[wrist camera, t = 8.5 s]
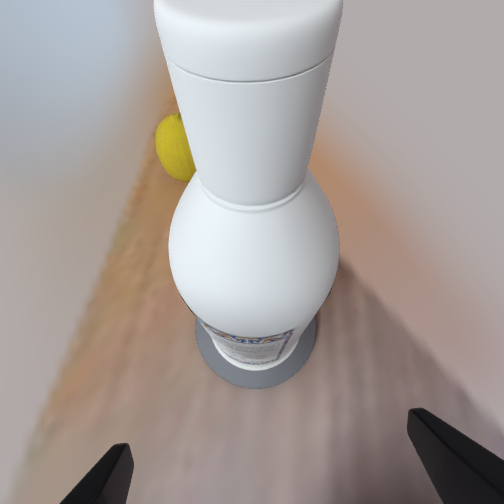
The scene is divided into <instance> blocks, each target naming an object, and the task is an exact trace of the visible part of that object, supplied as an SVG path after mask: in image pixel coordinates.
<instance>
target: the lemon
mask: <svg viewBox="0 0 504 504" xmlns="http://www.w3.org/2000/svg"><path fill="white" fill-rule="evenodd" d="M156 149H157V154H158V157H159V159H160V161H161V163H162V165H163V167H164V168H165V170H166V171H167V172H168V173H169V174H170V175H171V176H172V177H174V178H175V179H177V180H180V181H183V182H190V180H191V179H192V177H193V175H194V174H195V172H196V167H195V164H194V160H193V157H192V153H191V150H190V146H189V143H188V139H187V136H186V132H185V128H184V125H183V121H182V117H181V114H180V113H178V114H177V113H173V114H171V115H169V116H168V117H166V118H165V119H164V120H163V121H162V122H161V123H160V124H159V126H158V129H157V132H156Z"/></svg>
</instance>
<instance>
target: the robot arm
mask: <svg viewBox="0 0 504 504" xmlns="http://www.w3.org/2000/svg"><path fill="white" fill-rule="evenodd" d="M407 432H408V435H409V437H410V439H411V441H412V443H413V445H414V447H415V449H416V451H417V453H418V455H419V457H420V459H421V461H422V463H423V465H424V467H425V469H426V471H427V473H428V475H429V477H430V479H431V481H432V483H433V485H434V487H435V489H436V491H437V493H438V494H439V496H440V498H441V500H442V501H443V503H444V504H504V460H502V459H501V458H499V457H498V456H496V455H495V454H493V453H492V452H490V451H489V450H487V449H486V448H484V447H482V446H481V445H479V444H478V443H476V442H475V441H473V440H472V439H470V438H469V437H467V436H466V435H464V434H463V433H461V432H459V431H458V430H456V429H455V428H453V427H452V426H450V425H449V424H447V423H446V422H444V421H443V420H441V419H440V418H438V417H436V416H435V415H433V414H432V413H430V412H429V411H427V410H426V409H424V408H413V409H410V410H409V412H408V422H407ZM133 469H134V461H133V457H132V454H131V450H130V446H129V444H128V443H120V444H115V445H113V446H112V447H111V448H110V449H109V450H108V451H107V452H106V454H105V455H104V456H103V457H102V458H101V459H100V460H99V461H98V462H97V463H96V464H95V466H94V467H93V468H92V469H91V470H90V471H89V472H88V473H87V474H86V475H85V476H84V478H83V479H82V480H81V481H80V482H79V483H78V484H77V485H76V486H75V487H74V488H73V489H72V491H71V492H70V493H69V494H68V495H67V496H66V497H65V498H64V499H63V500H62V501H61V503H60V504H126V500H127V496H128V491H129V487H130V483H131V479H132V474H133Z"/></svg>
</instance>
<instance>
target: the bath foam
mask: <svg viewBox="0 0 504 504" xmlns="http://www.w3.org/2000/svg"><path fill="white" fill-rule="evenodd" d="M342 8H343V0H154V13H155V20H156V24H157V28H158V32H159V36H160V40H161V43H162V47H163V51H164V55H165V58H166V62H167V65H168V69H169V73H170V77H171V80H172V84H173V88H174V91H175V95H176V99H177V103H178V106H179V110H180V114H181V117H182V121H183V125H184V128H185V132H186V136H187V139H188V143H189V146H190V150H191V153H192V157H193V160H194V164H195V167H196V172H195V174H194V175H193V177H192V179H191V180H190V182H189V184H188V186H187V187H186V189H185V191H184V193H183V195H182V197H181V199H180V201H179V203H178V205H177V208H176V210H175V213H174V216H173V219H172V223H171V227H170V234H169V260H170V266H171V271H172V274H173V278H174V281H175V284H176V286H177V289H178V291H179V293H180V295H181V297H182V299H183V300H184V302H185V303H186V305H187V306H188V308H189V309H190V310H191V311H192V313H193V314H194V315H195V317H196V318H197V319H198V321H199V322H200V323H201V325H202V326H203V327H204V328H205V330H206V331H207V332H208V334H209V335H210V336H211V338H212V339H213V340H214V341H215V343H216V344H217V345H218V347H219V348H220V349H221V350H222V351H223V352H224V354H225V355H226V356H227V357H228V358H230V359H231V360H232V361H234V362H236V363H238V364H240V365H243V366H247V367H265V366H269V365H271V364H274V363H276V362H278V361H279V360H281V359H282V358H283V357H284V356H286V355H287V353H288V352H289V351H290V350H291V349H292V347H293V346H294V344H295V343H296V341H297V340H298V339H299V337H300V336H301V334H302V333H303V332H304V330H305V329H306V327H307V326H308V324H309V323H310V322H311V320H312V319H313V317H314V316H315V314H316V313H317V311H318V310H319V309H320V307H321V306H322V304H323V303H324V301H325V300H326V299H327V297H328V296H329V294H330V292H331V289H332V286H333V282H334V279H335V276H336V272H337V268H338V261H339V234H338V227H337V223H336V220H335V216H334V213H333V210H332V208H331V206H330V204H329V202H328V199H327V197H326V196H325V194H324V192H323V190H322V189H321V187H320V185H319V184H318V182H317V181H316V179H315V178H314V176H313V175H312V173H311V171H310V170H309V169H308V164H309V160H310V156H311V152H312V148H313V143H314V139H315V135H316V131H317V126H318V122H319V117H320V113H321V108H322V104H323V99H324V95H325V90H326V85H327V80H328V76H329V72H330V67H331V63H332V58H333V54H334V49H335V44H336V40H337V36H338V31H339V27H340V21H341V16H342Z"/></svg>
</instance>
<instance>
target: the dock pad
mask: <svg viewBox="0 0 504 504" xmlns="http://www.w3.org/2000/svg"><path fill="white" fill-rule="evenodd" d="M195 333H196V340H197V344H198V347H199V350H200V352H201V354H202V356H203V358H204V360H205V361H206V363H207V364H208V365H209V367H210V368H211V369H212V370H213V371H214V372H215V373H216V374H217V375H218V376H220V377H221V378H223V379H224V380H226V381H228V382H230V383H232V384H234V385H237V386H240V387H244V388H251V389H261V388H268V387H271V386H275V385H277V384H280V383H282V382H284V381H286V380H287V379H289V378H290V377H292V376H293V375H294V374H295V373H296V372H298V371H299V370H300V368H301V367H302V366H303V365H304V364H305V362H306V360H307V359H308V357H309V355H310V353H311V351H312V348H313V345H314V342H315V336H316V319H315V316H314V317H313V319H312V320H311V322H310V323H309V324H308V326H307V327H306V329H305V330H304V332H303V333H302V334H301V336H300V337H299V339H298V340H297V341H296V343H295V344H294V346H293V347H292V349H291V350H290V351H289V352H288V353H287V355H286V356H284V357H283V358H282V359H281V360H279V361H278V362H276V363H274V364H271V365H269V366H265V367H247V366H243V365H240V364H238V363H236V362H234V361H232V360H231V359H230V358H228V357H227V356H226V355H225V354H224V352H223V351H222V350H221V349H220V348H219V347H218V345H217V344H216V343H215V341H214V340H213V339H212V338H211V336H210V335H209V334H208V332H207V331H206V330H205V328H204V327H203V326H202V325H201V323H200V322H199V321H198V319H197V318H196V322H195Z"/></svg>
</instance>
